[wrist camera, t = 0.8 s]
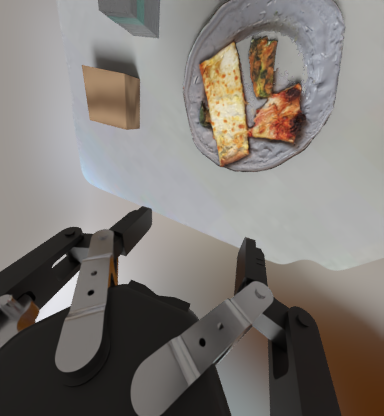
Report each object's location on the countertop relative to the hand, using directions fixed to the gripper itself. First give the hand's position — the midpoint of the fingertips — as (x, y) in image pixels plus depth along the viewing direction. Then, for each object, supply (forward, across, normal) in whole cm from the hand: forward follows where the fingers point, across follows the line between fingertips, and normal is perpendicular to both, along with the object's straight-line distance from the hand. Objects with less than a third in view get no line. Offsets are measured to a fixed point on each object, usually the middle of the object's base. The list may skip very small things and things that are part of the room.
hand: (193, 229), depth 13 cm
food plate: (+26, -2, -11) cm, 28 cm away
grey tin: (+26, +19, -20) cm, 38 cm away
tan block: (+26, +26, -7) cm, 37 cm away
